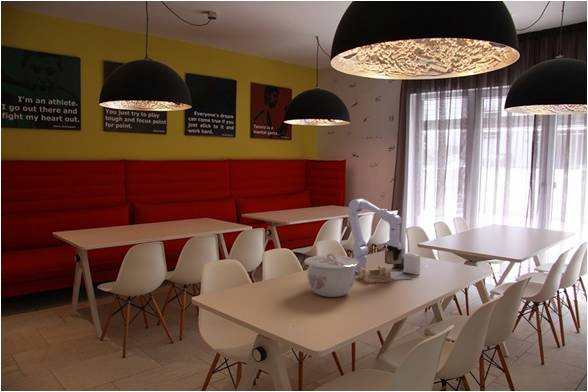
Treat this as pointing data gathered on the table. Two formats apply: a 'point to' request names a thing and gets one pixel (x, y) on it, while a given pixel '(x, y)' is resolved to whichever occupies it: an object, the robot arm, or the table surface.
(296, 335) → the table surface
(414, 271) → the photo printer
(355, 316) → the table surface
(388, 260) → the brown and grey block
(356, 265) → the robot arm
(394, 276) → the slate mat
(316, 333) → the table surface
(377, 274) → the wooden cubby shelf
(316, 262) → the chamber pot
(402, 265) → the rock
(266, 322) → the table surface
